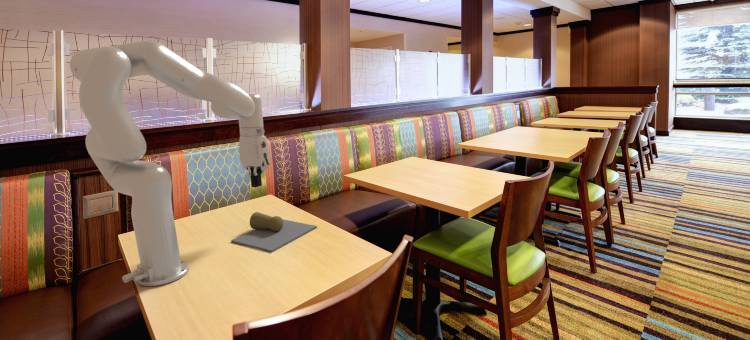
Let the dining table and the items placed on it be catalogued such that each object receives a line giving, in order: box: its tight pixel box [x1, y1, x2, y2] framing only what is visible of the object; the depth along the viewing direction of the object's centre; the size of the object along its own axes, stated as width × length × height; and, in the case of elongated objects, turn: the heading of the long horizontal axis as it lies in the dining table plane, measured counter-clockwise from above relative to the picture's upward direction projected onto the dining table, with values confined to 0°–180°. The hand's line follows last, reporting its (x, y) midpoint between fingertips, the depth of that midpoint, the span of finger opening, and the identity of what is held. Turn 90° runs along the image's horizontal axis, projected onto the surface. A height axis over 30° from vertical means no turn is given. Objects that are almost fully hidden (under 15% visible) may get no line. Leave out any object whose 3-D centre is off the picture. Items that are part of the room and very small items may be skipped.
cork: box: [249, 211, 284, 231], centre depth 137 cm, size 6×6×11 cm
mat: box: [230, 218, 318, 253], centre depth 134 cm, size 22×18×1 cm
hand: (256, 186), depth 135 cm, fingers closed
